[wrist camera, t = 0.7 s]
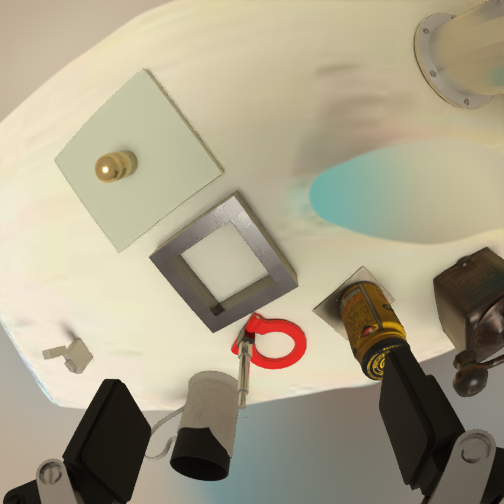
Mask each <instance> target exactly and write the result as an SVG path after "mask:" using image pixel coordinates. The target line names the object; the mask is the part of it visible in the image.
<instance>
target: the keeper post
mask: <svg viewBox="0 0 504 504" xmlns="http://www.w3.org/2000/svg"><path fill="white" fill-rule="evenodd" d="M137 166H138V161H137V157H136V156H135V154H134V153H133V152H131V151H128V150H125V151H119V152H113V153H108V154H104V155H102V156H101V157H99V159H98V160H97V161H96V163H95V167H94V171H95V175H96V177H97V178H98V179H99V180H100V181H101V182H104V183H112V182H115V181H117V180H120V179H123V178H126V177H129V176H131V175H133V174H134V173H135V171H136V170H137Z"/></svg>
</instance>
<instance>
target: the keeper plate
mask: <svg viewBox="0 0 504 504" xmlns="http://www.w3.org/2000/svg"><path fill="white" fill-rule="evenodd" d="M125 150H128V151H131V152H133V153H134V154H135V156H136V157H137V161H138V166H137V170H136V171H135V173H134V174H133V175H131V176H129V177H126V178H123V179H120V180H117V181H115V182H112V183H104V182H101V181H100V180H99V179H98V178H97V177H96V175H95V171H94V167H95V163H96V161H97V160H98V159H99V157H101V156H102V155H104V154H108V153H113V152H119V151H125ZM54 161H55V163H56V164H57V166H58V167H59V169H60V171H61V172H62V174H63V175H64V177H65V178H66V180H67V181H68V183H69V184H70V186H71V187H72V189H73V190H74V192H75V193H76V195H77V196H78V198H79V199H80V201H81V202H82V204H83V205H84V206H85V208H86V209H87V211H88V212H89V214H90V215H91V216H92V218H93V219H94V221H95V222H96V223H97V225H98V226H99V227H100V229H101V230H102V231H103V233H104V234H105V235H106V237H107V238H108V239H109V241H110V242H111V243H112V245H113V246H114V247H115V249H116V250H117V251H118V253H120V252H121V251H122V250H124V249H125V248H126V247H127V246H128V245H129V244H131V243H132V242H133V241H134V240H136V239H137V238H138V237H139V236H140V235H142V234H143V233H144V232H145V231H147V230H148V229H149V228H150V227H152V226H153V225H154V224H155V223H157V222H158V221H159V220H160V219H162V218H163V217H164V216H166V215H167V214H168V213H169V212H171V211H172V210H173V209H175V208H176V207H177V206H179V205H180V204H181V203H182V202H184V201H185V200H186V199H188V198H189V197H190V196H192V195H193V194H194V193H196V192H197V191H198V190H200V189H201V188H203V187H204V186H205V185H207V184H208V183H209V182H211V181H212V180H214V179H215V178H216V177H218V176H219V175H221V174H222V173H223V172H224V171H223V170H222V168H221V167H220V166H219V164H218V163H217V162H216V160H215V159H214V157H213V156H212V155H211V153H210V152H209V151H208V149H207V148H206V146H205V145H204V144H203V142H202V141H201V140H200V138H199V137H198V136H197V134H196V133H195V132H194V130H193V129H192V128H191V126H190V125H189V124H188V122H187V121H186V120H185V118H184V117H183V116H182V114H181V113H180V111H179V110H178V109H177V108H176V106H175V105H174V104H173V102H172V101H171V100H170V98H169V97H168V96H167V94H166V93H165V92H164V90H163V89H162V88H161V86H160V85H159V84H158V82H157V81H156V80H155V78H154V77H153V76H152V75H151V73H150V72H149V71H148V70H147V69H144V68H142V69H141V70H140V71H139V72H138V73H137V74H135V75H134V76H133V77H132V78H131V79H130V80H129V81H128V82H126V83H125V84H124V85H123V86H122V87H121V88H120V89H119V90H118V91H117V92H116V93H115V94H114V95H112V96H111V97H110V98H109V99H108V100H107V101H106V102H105V103H104V104H103V105H102V106H101V107H100V108H99V109H98V110H97V111H96V112H95V114H94V115H93V116H92V117H91V118H90V119H89V120H88V121H87V122H86V123H85V124H84V125H83V126H82V127H81V129H80V130H79V131H78V132H77V133H76V134H75V135H74V136H73V138H72V139H71V140H70V141H69V142H68V143H67V145H66V146H65V147H64V148H63V149H62V151H61V152H60V153H59V154H58V155H57V157H56V158H55V159H54Z"/></svg>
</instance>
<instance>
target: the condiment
mask: <svg viewBox="0 0 504 504" xmlns="http://www.w3.org/2000/svg"><path fill="white" fill-rule="evenodd" d="M336 300H338V301H336ZM394 301H395V300H394V299H393V298H392V297H391V296H390V295H389V294H388V292H387V291H386V290H385V289H384V288H383V287H382V286H381V285H380V284H379V283H378V281H377V280H376V279H375V278H374V277H373V276H372V275H371V274H370V273H369V272H368V271H367V270H366V269H365V268H364V266H363V267H362V268H361V269H360V270H358V271H357V272H356V273H355V274H354V275H353V276H352V277H351V278H350V279H348V280H347V281H346V282H345V283H344V284H343V285H341V286H340V287H339V288H338V289H337V290H336V291H335V292H334V293H333V294H332V295H331V296H329V297H328V298H327V299H326V300H325V301H323V302H322V303H321V304H320V305H319V306H318V307H317V308H316V309H315V310H313V312H314V313H315V314H317V315H318V316H319V317H320V318H322V319H323V320H324V321H325V322H327V323H328V324H329V325H330V326H331V327H332V328H334V329H335V330H336V331H337V332H338V333H339V334H340V335H342V336H343V337H344V338H345V339H346V340H348V339H349V342H350V346H351V349H352V352H353V354H354V357H355V358H356V359H357V361H358V362H359V363H360V365H361V368H362V371H363V373H364V374H365V375H366V376H367V377H368V378H370V379H372V380H382V378H383V369H384V359H385V354H386V353H389V350H390V348H393V347H397V346H401V345H405V344H406V345H407V346H408V347H409V349H410V345H409V344H408V343H407V340H406V333H405V330H404V327H403V326H402V325H401V323H400V321H399V319H398V318H397V316H396V314H395V312H394V310H393V309H392V308H391V305H390V304H391V303H393V302H394Z"/></svg>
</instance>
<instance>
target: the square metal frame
mask: <svg viewBox="0 0 504 504" xmlns="http://www.w3.org/2000/svg"><path fill="white" fill-rule="evenodd" d="M229 220H231V222H232V223H233V225H234V226H235V227H236V229H237V230H238V231H239V233H240V234H241V235H242V237H243V238H244V240H245V241H246V242H247V244H248V245H249V246H250V248H251V249H252V250H253V252H254V253H255V255H256V256H257V257H258V259H259V260H260V261H261V263H262V264H263V265H264V267H265V268H266V270H267V271H268V272H269V275H267V276H266V277H264V278H262V279H261V280H259V281H257V282H256V283H254V284H252V285H250V286H249V287H247V288H245V289H244V290H242V291H240V292H238V293H237V294H235V295H233V296H232V297H230V298H228V299H226V300H225V301H223V302H221V303H218V301H217V300H216V299H215V298H214V296H213V295H212V294H211V293H210V292H209V290H208V289H207V288H206V287H205V286H204V284H203V283H202V282H201V281H200V279H199V278H198V277H197V276H196V274H195V273H194V272H193V271H192V270H191V268H190V267H189V266H188V265H187V263H186V262H185V261H184V259H183V258H182V257H181V256H180V254H181V253H183V252H184V251H186V250H187V249H189V248H190V247H191V246H193V245H194V244H196V243H197V242H199V241H200V240H202V239H203V238H204V237H206V236H207V235H209V234H210V233H212V232H213V231H215V230H216V229H218V228H219V227H221V226H222V225H223V224H225V223H226V222H228V221H229ZM149 258H150V259H151V261H152V262H153V263H154V264H155V266H156V267H157V268H158V269H159V271H160V272H161V273H162V274H163V276H164V277H165V278H166V279H167V280H168V282H169V283H170V284H171V285H172V286H173V288H174V289H175V290H176V291H177V292H178V294H179V295H180V296H181V297H182V298H183V300H184V301H185V302H186V303H187V304H188V305H189V307H190V308H191V309H192V310H193V311H194V312H195V313H196V315H197V316H198V317H199V318H200V319H201V320H202V321H203V323H204V324H205V325H206V326H207V327H208V328H209V329H210V330H211V331H212V333H215V332H217V331H218V330H220V329H222V328H224V327H226V326H228V325H230V324H232V323H234V322H235V321H237V320H239V319H241V318H243V317H245V316H246V315H248V314H250V313H252V312H254V311H256V310H257V309H259V308H261V307H263V306H265V305H267V304H268V303H270V302H272V301H274V300H275V299H277V298H279V297H281V296H283V295H284V294H286V293H288V292H290V291H291V290H293V289H295V288H297V287H298V280H297V274H296V273H295V271H294V270H293V268H292V267H291V266H290V264H289V263H288V261H287V260H286V258H285V257H284V255H283V254H282V253H281V251H280V250H279V248H278V247H277V245H276V244H275V243H274V241H273V240H272V238H271V237H270V235H269V234H268V233H267V231H266V230H265V228H264V227H263V226H262V224H261V223H260V221H259V220H258V218H257V217H256V216H255V214H254V213H253V211H252V210H251V209H250V207H249V206H248V204H247V203H246V202H245V200H244V199H243V197H242V196H241V195H240V193H239V192H238V190H237V191H236V192H234V193H233V194H232V195H230V196H229V197H227V198H226V199H224V200H223V201H221V202H220V203H219V204H217V205H216V206H214V207H213V208H211V209H210V210H209V211H207V212H206V213H204V214H203V215H202V216H200V217H199V218H197V219H196V220H195V221H193V222H192V223H190V224H189V225H188V226H186V227H185V228H184V229H182V230H181V231H180V232H178V233H177V234H175V235H174V236H173V237H171V238H170V239H169V240H167V241H166V242H165V243H163V244H162V245H161V246H159V247H158V248H157V249H156V250H155V251H154V252H153V253H152V254H151V255H150V257H149Z"/></svg>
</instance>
